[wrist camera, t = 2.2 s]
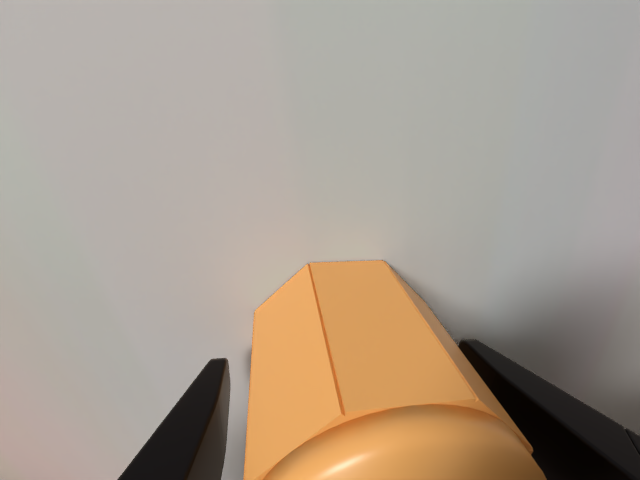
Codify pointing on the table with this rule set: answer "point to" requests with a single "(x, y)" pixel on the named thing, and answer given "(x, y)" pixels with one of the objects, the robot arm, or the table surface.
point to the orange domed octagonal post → (369, 387)
